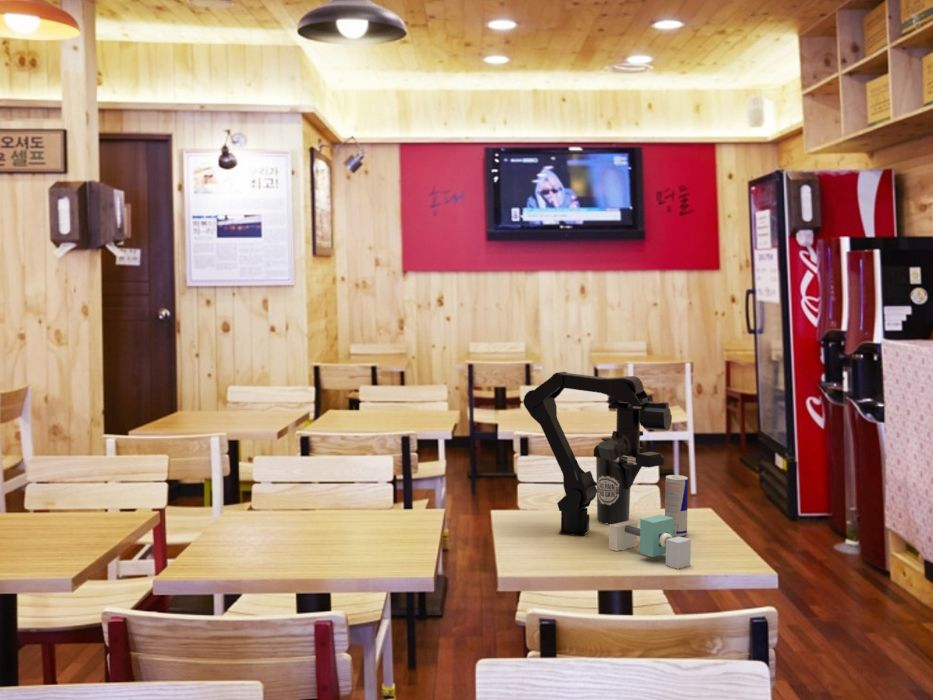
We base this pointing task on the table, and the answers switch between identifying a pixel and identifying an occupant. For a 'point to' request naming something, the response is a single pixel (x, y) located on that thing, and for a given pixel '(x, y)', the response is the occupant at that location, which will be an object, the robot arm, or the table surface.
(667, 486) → the beverage can
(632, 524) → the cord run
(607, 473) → the water bottle
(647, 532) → the teal block with hole
